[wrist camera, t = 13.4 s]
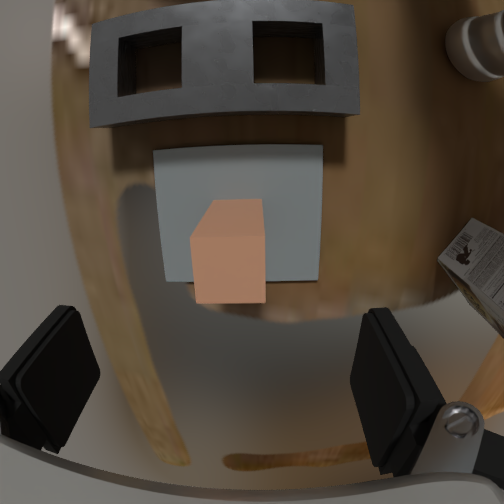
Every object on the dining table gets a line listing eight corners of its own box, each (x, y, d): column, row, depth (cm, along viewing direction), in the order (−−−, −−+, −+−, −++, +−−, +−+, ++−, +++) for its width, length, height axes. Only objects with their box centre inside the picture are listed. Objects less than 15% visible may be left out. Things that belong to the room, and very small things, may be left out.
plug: (261, 198, 26) (265, 236, 17) (262, 244, 27) (265, 302, 18) (213, 200, 26) (189, 237, 17) (216, 245, 27) (196, 303, 18)
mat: (321, 145, 25) (322, 145, 24) (317, 278, 29) (317, 280, 29) (154, 150, 25) (153, 150, 25) (167, 279, 29) (166, 281, 29)
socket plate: (340, 21, 21) (353, 5, 17) (345, 117, 24) (359, 114, 20) (111, 35, 21) (92, 24, 17) (111, 127, 24) (89, 127, 20)
